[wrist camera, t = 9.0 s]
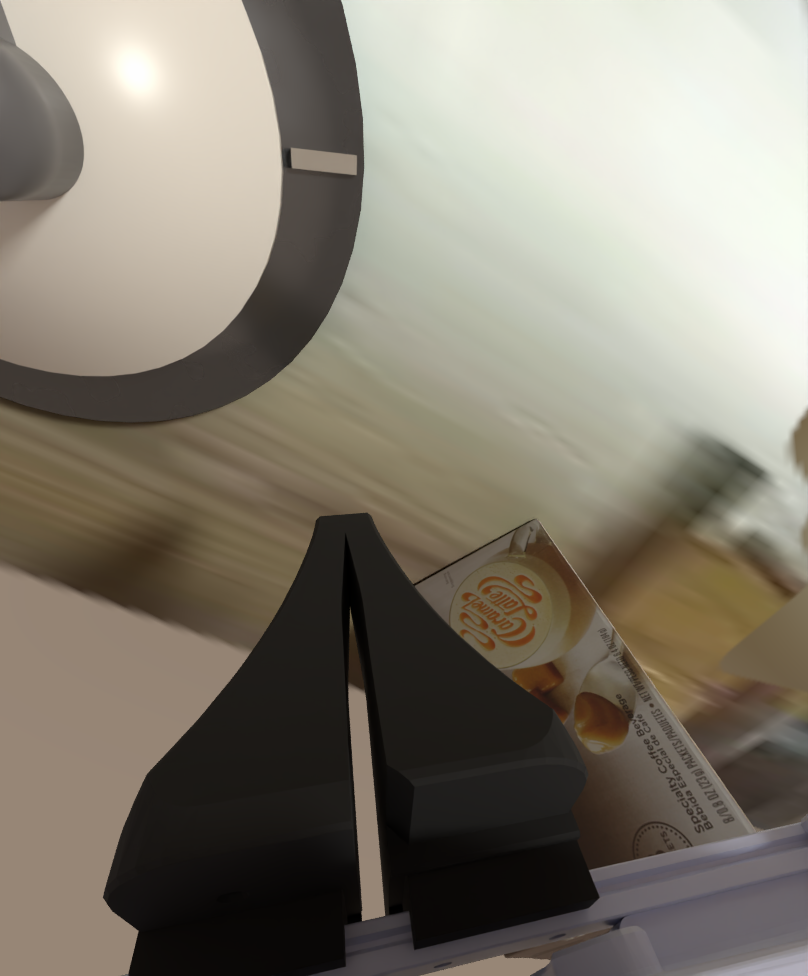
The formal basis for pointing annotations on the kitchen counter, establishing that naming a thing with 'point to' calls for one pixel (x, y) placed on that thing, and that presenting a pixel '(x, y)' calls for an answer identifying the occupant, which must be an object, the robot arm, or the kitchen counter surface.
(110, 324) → the dial
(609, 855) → the coffee box
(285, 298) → the dial plate
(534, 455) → the kitchen counter surface
